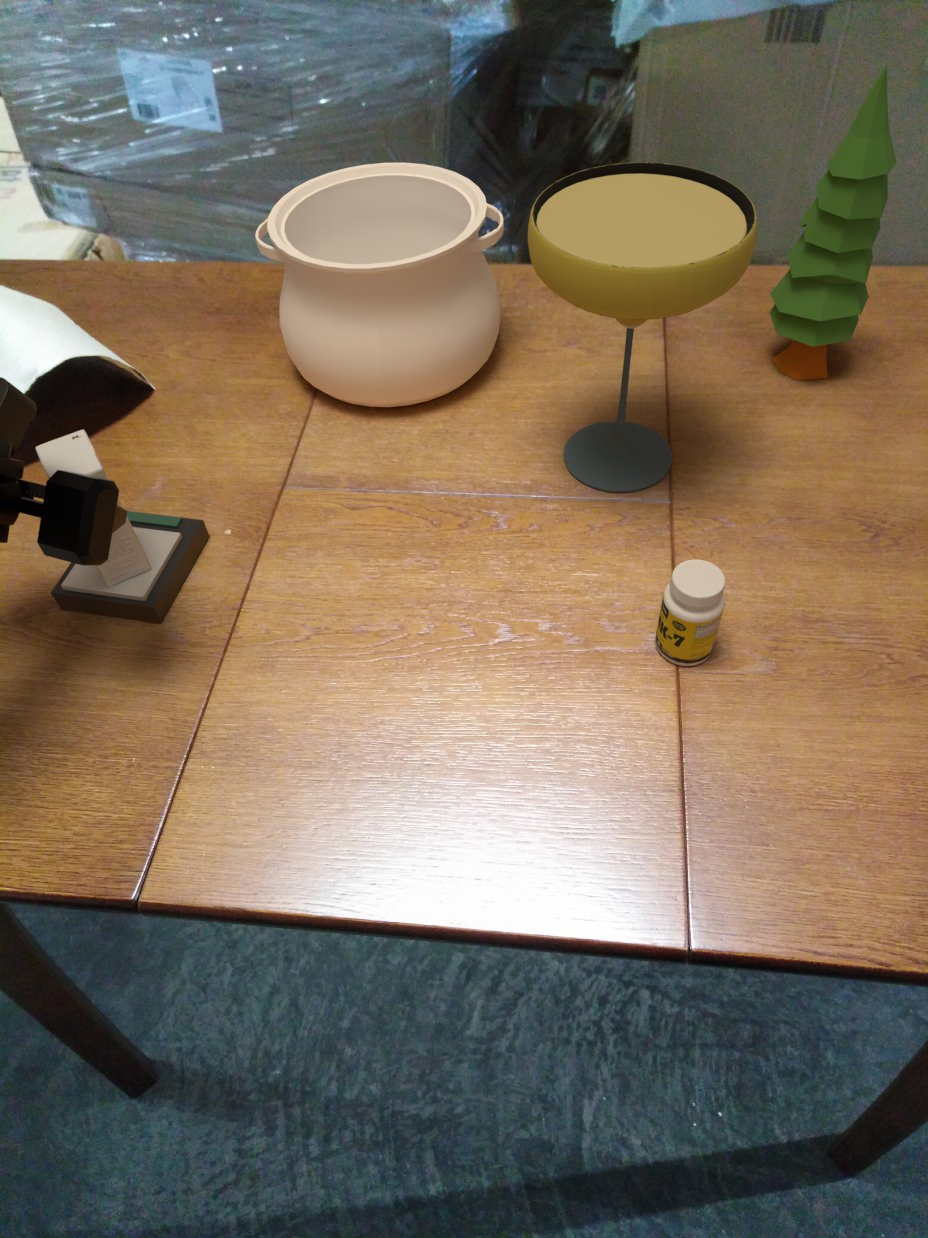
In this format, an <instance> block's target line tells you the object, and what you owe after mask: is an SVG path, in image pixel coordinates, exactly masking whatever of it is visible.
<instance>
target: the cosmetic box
mask: <svg viewBox="0 0 928 1238" xmlns="http://www.w3.org/2000/svg"><path fill="white" fill-rule="evenodd" d="M35 452H36V453H37V457H38V459H39V461H40V464H41V466H42V468H43V470H44V472H45V474H46V477H47V480H48V479H49V478H50V477H51V476H52V475H53V474H54V473H55V472H56V471H57V470H63V471H70V472H75V473H80V474H85V475H90V476H94V477H98V478H102V479H107V480H110V479H109V476H108V475H107V473H106V470H105V468H104V466H103V464H102V462H101V459H100V457H99V456H98V454H97V452H96V450H95V447H94V446H93V443H92V441H91V440H90V437H89V436H88V434H87V432H86V430H85V429H80V430H76V431H74V432H72V433H69V434H66V435H63V436H61V437H57V438H54V439H52V440H49V441H47V442H44V443H42V444H39V445H37V446H35ZM117 506H119V507H121V508H123V509H124V507H123V505H122V503H121V501H120V499H119V498H118V502H117ZM95 566H96V568H97V570H98V572H99V573H100V575H101V577H102V579H103V581H104V582H105V584H106V586H108V587H111V586H113V585H115V584H117V583H120V582H122V581H124V580H127V579H129V578H131V577H134V576H136V575H139V574H141V573H144V572H146V571H148V570H150V569H151V565H150V563H149V561H148V559H147V556H146V554H145V552H144V550H143V547H142V545H141V543H140V541H139V539H138V537H137V535H136V533H135V531H134V529H133V527H132V525H131V523H130V521H129V519H128V517H126V522H125V524H124V525H123V526H121V527H120V528H119V529H118V530H116V531H115V532H114V533H113V534H112V538H111V544H110V550H109V556H108V560H107V561H106V562H104V563H103V564H102V565H95Z"/></svg>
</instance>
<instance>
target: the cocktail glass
mask: <svg viewBox="0 0 928 1238" xmlns="http://www.w3.org/2000/svg"><path fill="white" fill-rule="evenodd" d="M757 233H758V215H757V211H756V208H755V205H754V203H753V202H752V200H751V198H749V196H748V195H747V194H746V193H745V192H744V191H743V190H742V189H741V188H739V187H738V186H737V185H735V184H733V183H732V182H731V181H729V180H727V179H724V178H723V177H720V176H719V175H716V174H714V173H710V172H707V171H705V170H702V169H698V168H694V167H690V166H685V165H679V164H673V163H665V162H664V163H663V162H645V161H644V162H642V161H638V162H637V161H635V162H620V163H612V164H611V163H610V164H605V165H600V166H595V167H590V168H586V169H583V170H580V171H576V172H574V173H571V174H569V175H567V176H564V177H563V178H560V179H558V180H557V181H555V182H554V183H552V184H551V185H548V187H547V188H545V189H544V190H543V191H542V192H541V193H540V194H539V195H538V196H537V198H536V199H535V201H534V203H533V205H532V207H531V210H530V214H529V219H528V225H527V247H528V254H529V259H530V263H531V265H532V267H533V269H534V271H535V273H536V276H537V277H538V278H539V279H540V280H541V282H542V283H543V284H544V285H545V286H546V287H547V288H548V289H549V290H551V291H552V292H553V293H554V294H555V295H557V296H558V297H559V298H561V299H563V300H564V301H566V302H567V303H569V304H570V305H572V306H574V307H576V308H578V309H581V310H583V311H586V312H588V313H592V314H594V315H597V316H598V315H599V316H603V317H607V318H612V319H615V320H616V322H618V324H620V325H621V326H622V327H623V328H625V329H626V331H625V332H626V333H625V344H624V352H623V353H624V356H623V362H622V363H623V364H622V372H621V373H622V374H621V384H620V391H619V399H618V409H617V416H616V420H606V421H600V422H595V423H592V424H589V425H587V426H584V427H583V428H581V429H579V430H577V431H576V432H575V433H573V434H572V435H571V436H570V438H569V439H568V440H567V442H566V443H565V446H564V449H563V461H564V465H565V467H566V469H567V470H568V471H569V473H570V475H572V476H573V477H574V478H575V479H576V480H577V481H578V482H580V483H582V484H584V485H585V486H587V487H590V488H592V489H595V490H599V491H603V492H608V493H632V492H638V491H641V490H644V489H648V488H650V487H652V486H654V485H656V484H658V483H659V482H660V481H661V480H663V479H664V478H665V477H666V475H668V473H669V471H670V469H671V466H672V463H673V452H672V449H671V447H670V445H669V443H668V442H667V440H666V439H665V438H664V437H663V436H662V435H661V434H660V433H658V432H657V431H655V430H654V429H652V428H650V427H648V426H645V425H643V424H640V423H636V422H632V421H627V420H626V417H627V416H626V415H627V402H628V392H629V391H628V390H629V380H630V369H631V359H632V349H633V340H634V334H635V333H634V331H635V329H637V328H639V327H641V326H642V325H643V324H645V323H646V322H647V321H648V320H658V319H659V320H660V319H665V318H670V317H676V316H680V315H684V314H687V313H690V312H694V311H695V310H698V309H700V308H703V307H704V306H706V305H709V304H711V303H712V302H714V301H715V300H717V299H718V298H720V297H722V296H724V295H725V294H726V293H727V292H729V291H730V290H732V288H733V287H734V286H736V285H737V284H738V283H739V282H740V280H741V279H742V277H743V276H744V274H745V273H746V271H747V270H748V267H749V265H750V263H751V260H752V257H753V254H754V252H755V251H754V250H755V247H756V242H757Z"/></svg>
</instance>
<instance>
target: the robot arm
mask: <svg viewBox="0 0 928 1238" xmlns="http://www.w3.org/2000/svg"><path fill="white" fill-rule="evenodd" d="M37 411H38V406H37V403H36V402H35V401H34V400H33V399H31V398H30V397H29V396H27V395H26V394H25V393H24V392H22V391H21V390H20V389H19V388H18V387H16V386H15V385H14V384H12V383H11V382H10V381H8V380H7V379H5V378H4V377H1V376H0V544H7V543H8V541H9V535H10V527H11V526H14V525H15V523H16V522H17V520H18V518H19V515H20V514H24V515H27V516H31V517H34V518H35V517H36V518H40V521H39V527H38V533H37V534H38V535H37V541H36V544H37V545H38V547H39V549H40V550H41V552H42V554H43V555H44V556H45V557H50V558H54V559H57V560H61V561H64V562H68V563H71V562H72V563H75V564H79V565H83V566H89V565H102V564H103V563H104V562H106V561H107V560H108V556H109V550H110V544H111V538H112V534H113V533H114V532H115V531H116V530H118V529H119V528H120V527H121V526H123V525H124V524H125V522H126V517H127V511H128V510H127V509H125V508H124V507H123V508H121V507H119V506H117V502H118V499H119V495H120V488H118V485H117V484H116V482H115V481H114V480H110V479H109V480H107V479H102V478H98V477H94V476H90V475H85V474H80V473H75V472H70V471H63V470H57V471H56V472H55V473H54V474H53V475H52V476H51V477H50V478H49V479H48V478H47V480H46V482H45V484H41V483H38V482H34V481H30V480H25V479H23V477H24V471H25V463H26V461H24V460H20V459H16V458H12V456H13V455H14V454H15V453H16V452H17V451H18V449H19V447H20V445H21V442H22V441H23V438H24V436H25V434H26V432H27V429H28V427H29V425H30V422H32V421H33V420H34V419H35V418H36V414H37V413H38V412H37ZM35 498H37V499H42V500H43V501H41V500H37V499H35Z"/></svg>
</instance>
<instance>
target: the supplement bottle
mask: <svg viewBox="0 0 928 1238" xmlns="http://www.w3.org/2000/svg"><path fill="white" fill-rule="evenodd" d="M725 585H726V577H725V575H724V573H723V571H722V570H721V568H719V566H717V565H716V564H715V563H712V562H711V561H707V560H703V559H699V558H698V559H696V558H694V559H688V560H684V561H682V562H680V563H679V564H677V565H676V566H675V567H674V569H673V571H672V573H671V577H670V579H669V582H668V583H667V585H666V586H665V588H664V590H663V594H662V599H661V605H660V610H659V615H658V621H657V626H656V631H655V640H654V641H655V642H654V643H655V647H656V649H657V651H658V653H659V654H660V655H661V656H662V657H663V658H664V659H665V660H666V661H668V662H670V663H671V664H674V665H677V666H681V667H693V666H697V665H700V664H702V663H704V662H705V661H706V660H707V659H709V657H710V656H711V654H712V653H713V650H714V647H715V643H716V639H717V636H718V632H719V629H720V624H721V621H722V617H723V614H724V610H725V605H726V604H725V603H726V597H725V593H724V591H725V590H724V589H725Z"/></svg>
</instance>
